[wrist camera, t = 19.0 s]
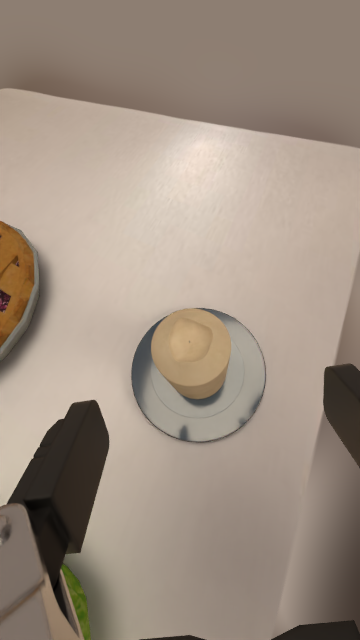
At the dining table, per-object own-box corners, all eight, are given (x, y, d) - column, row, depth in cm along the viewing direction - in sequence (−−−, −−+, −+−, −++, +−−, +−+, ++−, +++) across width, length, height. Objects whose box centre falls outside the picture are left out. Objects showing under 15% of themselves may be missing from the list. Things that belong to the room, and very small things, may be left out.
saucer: (280, 336, 29) (283, 331, 28) (238, 466, 25) (239, 468, 24) (165, 297, 32) (163, 291, 31) (112, 408, 28) (107, 407, 27)
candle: (162, 352, 29) (137, 313, 19) (215, 335, 29) (215, 289, 19) (177, 407, 26) (158, 394, 17) (234, 389, 26) (245, 366, 17)
